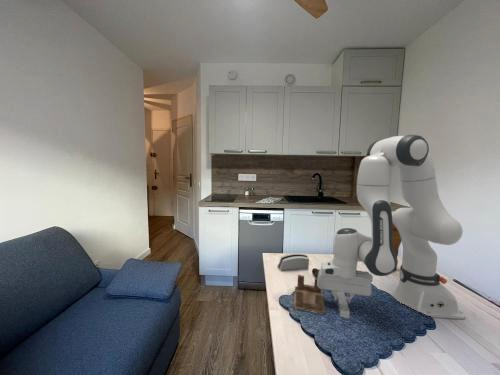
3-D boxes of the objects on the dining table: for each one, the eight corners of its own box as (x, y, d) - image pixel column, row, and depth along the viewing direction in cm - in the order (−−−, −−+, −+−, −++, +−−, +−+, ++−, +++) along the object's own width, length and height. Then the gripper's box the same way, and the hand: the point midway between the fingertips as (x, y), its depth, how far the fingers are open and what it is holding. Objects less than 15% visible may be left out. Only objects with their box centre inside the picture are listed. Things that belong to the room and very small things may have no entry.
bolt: (315, 277, 114) (334, 292, 100) (308, 273, 113) (326, 288, 98) (320, 267, 115) (340, 280, 100) (313, 263, 113) (332, 277, 99)
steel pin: (342, 294, 96) (343, 288, 96) (349, 319, 81) (349, 312, 80) (335, 293, 97) (335, 287, 97) (340, 317, 82) (341, 310, 81)
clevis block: (322, 292, 97) (323, 277, 96) (325, 315, 82) (326, 297, 82) (295, 288, 100) (295, 273, 99) (292, 309, 86) (293, 292, 85)
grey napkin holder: (304, 264, 124) (308, 250, 120) (308, 270, 120) (311, 256, 116) (276, 266, 121) (279, 252, 117) (279, 272, 117) (282, 258, 113)
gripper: (370, 268, 87) (368, 301, 89) (317, 261, 93) (315, 292, 94) (375, 276, 81) (372, 311, 83) (318, 268, 87) (316, 301, 88)
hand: (341, 301), depth 89 cm, fingers closed on steel pin, 3 cm apart
